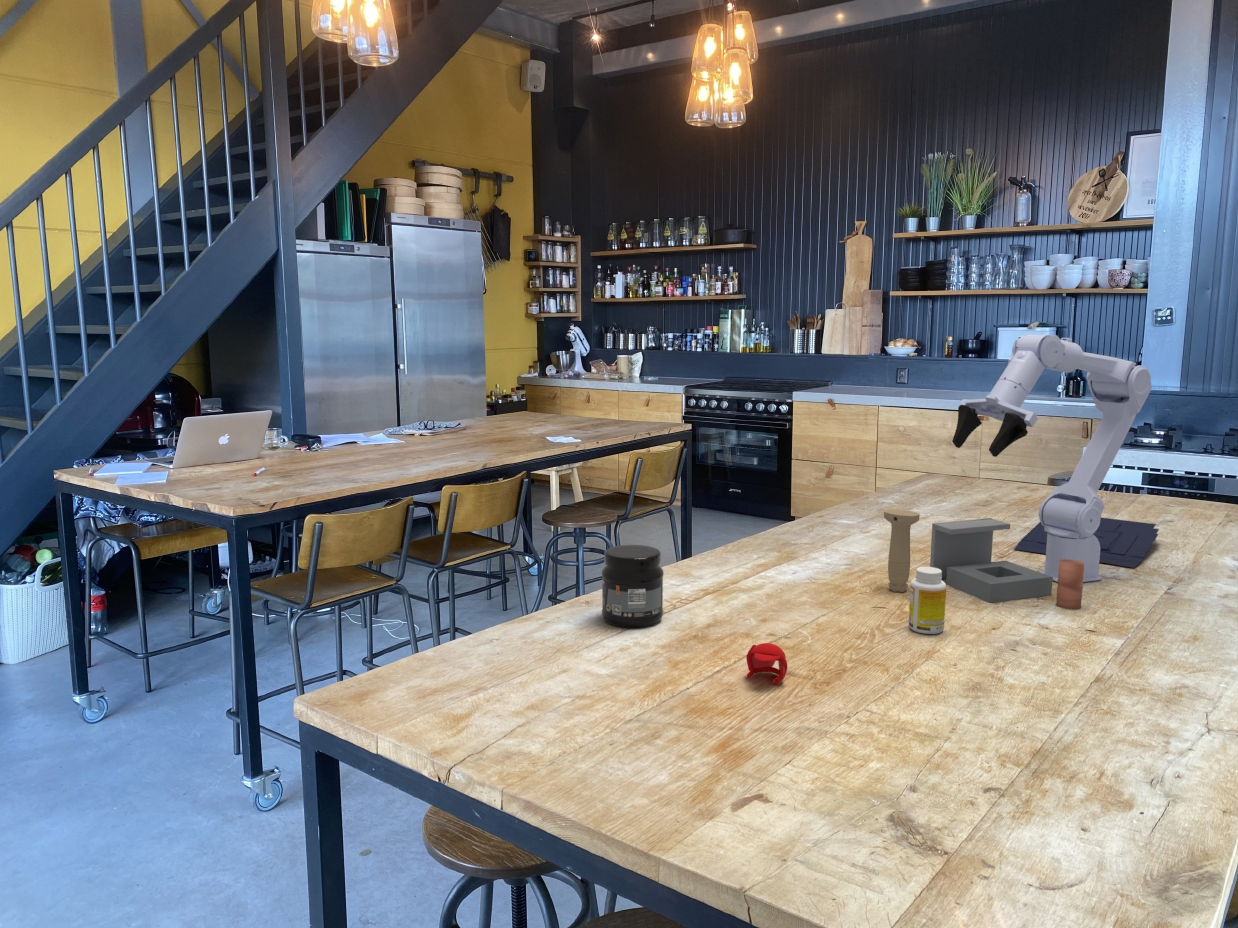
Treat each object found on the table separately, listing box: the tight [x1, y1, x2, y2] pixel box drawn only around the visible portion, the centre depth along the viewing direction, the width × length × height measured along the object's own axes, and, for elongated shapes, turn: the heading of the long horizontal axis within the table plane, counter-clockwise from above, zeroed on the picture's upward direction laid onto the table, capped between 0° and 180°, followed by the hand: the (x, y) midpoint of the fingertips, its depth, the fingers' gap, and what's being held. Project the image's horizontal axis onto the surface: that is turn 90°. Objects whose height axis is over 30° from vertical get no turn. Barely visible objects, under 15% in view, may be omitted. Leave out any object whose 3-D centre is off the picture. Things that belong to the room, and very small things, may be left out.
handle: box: [883, 508, 920, 593], centre depth 171 cm, size 5×6×15 cm
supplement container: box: [600, 544, 665, 629], centre depth 155 cm, size 10×10×12 cm
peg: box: [1055, 560, 1084, 610], centre depth 162 cm, size 4×4×8 cm
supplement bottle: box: [908, 566, 947, 635], centre depth 150 cm, size 6×6×10 cm
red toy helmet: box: [745, 642, 788, 685], centre depth 130 cm, size 7×6×6 cm
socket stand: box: [929, 517, 1053, 604], centre depth 174 cm, size 14×17×11 cm
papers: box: [1013, 517, 1160, 569], centre depth 205 cm, size 24×30×4 cm
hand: (973, 449), depth 163 cm, fingers open, 7 cm apart
